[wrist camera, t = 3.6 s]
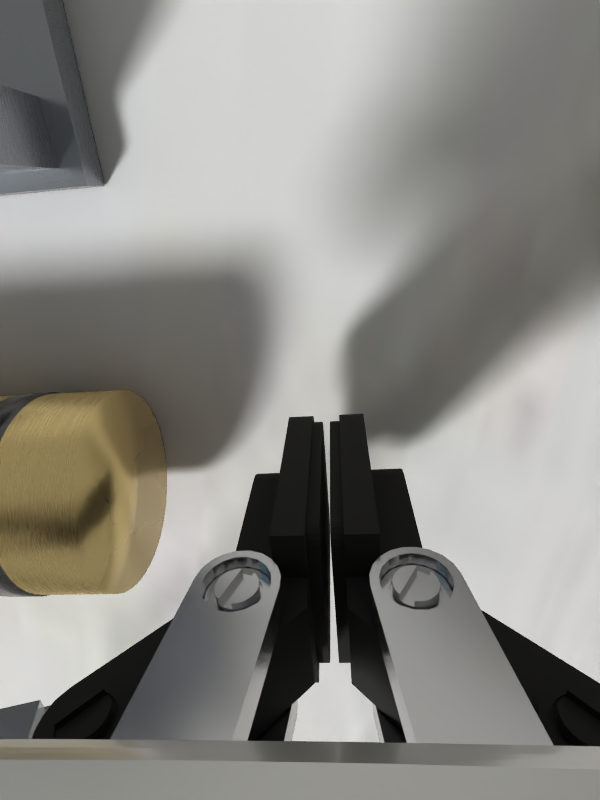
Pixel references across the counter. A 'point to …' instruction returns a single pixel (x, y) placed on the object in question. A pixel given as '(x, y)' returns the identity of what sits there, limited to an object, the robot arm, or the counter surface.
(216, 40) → the counter surface
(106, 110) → the counter surface
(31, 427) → the axle
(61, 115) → the cradle
